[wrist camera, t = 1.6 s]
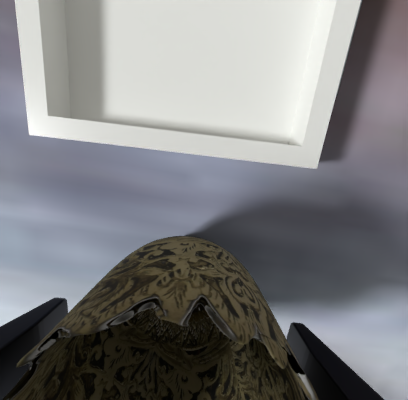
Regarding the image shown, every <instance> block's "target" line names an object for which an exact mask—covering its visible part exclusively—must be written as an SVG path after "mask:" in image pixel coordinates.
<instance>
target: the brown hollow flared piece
mask: <svg viewBox="0 0 408 400" xmlns="http://www.w3.org/2000/svg"><path fill="white" fill-rule="evenodd" d="M26 364H30V365H29V368H28V370H27V371H26V372H25V374H24V375H23V376H22V378H21V379H20V380H19V381H18V383H17V384H16V385H15V386H14V387H13V388H12V389H11V390H10V392H9V393H8V394H7V395H6V396H5V397H4V398H3V399H2V400H319V399H318V397H317V395H316V392H315V390H314V388H313V386H312V384H311V382H310V380H309V379H308V377H307V375H306V374H305V372H304V371H303V369H302V368H301V366H300V364H299V363H298V361H297V359H296V357H295V355H294V353H293V351H292V349H291V347H290V346H289V344H288V342H287V340H286V338H285V336H284V334H283V332H282V330H281V328H280V327H279V325H278V323H277V321H276V319H275V317H274V315H273V313H272V311H271V310H270V308H269V306H268V304H267V302H266V300H265V299H264V297H263V295H262V293H261V292H260V290H259V288H258V286H257V285H256V283H255V281H254V280H253V278H252V277H251V275H250V274H249V273H248V271H247V270H246V269H245V267H244V266H243V265H242V264H241V263H240V262H239V261H238V260H237V259H236V258H235V257H234V256H233V255H232V254H231V253H229V252H228V251H227V250H225V249H223V248H222V247H220V246H218V245H216V244H214V243H213V242H210V241H207V240H204V239H201V238H196V237H190V236H174V237H167V238H163V239H159V240H156V241H153V242H150V243H148V244H146V245H144V246H142V247H140V248H139V249H137V250H136V251H134V252H133V253H131V254H130V255H128V256H127V257H126V258H125V259H123V260H122V261H121V262H120V263H119V264H117V265H116V266H115V267H114V268H113V269H112V270H111V271H110V272H109V273H108V274H107V275H106V276H105V277H104V278H103V279H101V280H100V281H99V282H98V283H97V284H96V285H95V287H94V288H93V289H92V290H91V291H90V292H89V293H88V294H87V295H86V296H85V297H84V298H83V299H82V300H81V301H80V302H79V303H78V304H77V305H76V306H75V307H74V308H73V309H72V310H71V311H70V312H69V313H68V314H67V315H66V316H65V317H64V318H63V319H62V320H61V321H60V322H59V323H58V324H57V325H56V326H55V327H54V328H53V329H52V330H51V331H50V332H49V333H48V334H47V335H46V336H45V337H44V338H43V339H42V340H41V341H40V342H39V343H38V344H37V345H36V346H35V347H34V348H33V349H32V350H30V351H29V352H28V353H27V354H26V355H25V356H24V357H23V358H21V359H20V361H19V362H18V363H17V366H16V367H21V366H24V365H26Z"/></svg>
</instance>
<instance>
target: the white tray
mask: <svg viewBox="0 0 408 400" xmlns="http://www.w3.org/2000/svg"><path fill="white" fill-rule="evenodd" d="M361 4H362V0H15V6H16V16H17V25H18V34H19V44H20V53H21V62H22V72H23V81H24V90H25V100H26V109H27V118H28V128H29V135H36V136H44V137H53V138H61V139H69V140H78V141H86V142H95V143H103V144H111V145H120V146H128V147H137V148H145V149H153V150H162V151H170V152H179V153H187V154H195V155H204V156H212V157H221V158H229V159H237V160H246V161H254V162H263V163H271V164H279V165H288V166H296V167H305V168H313V169H317V166H318V162H319V159H320V155H321V151H322V147H323V143H324V140H325V136H326V132H327V128H328V124H329V121H330V117H331V113H332V109H333V105H334V102H335V98H336V96H337V95H338V91H339V87H340V83H341V80H342V76H343V72H344V68H345V65H346V61H347V57H348V53H349V49H350V46H351V42H352V38H353V34H354V31H355V27H356V23H357V19H358V15H359V12H360V8H361Z"/></svg>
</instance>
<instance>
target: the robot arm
mask: <svg viewBox="0 0 408 400" xmlns="http://www.w3.org/2000/svg"><path fill="white" fill-rule="evenodd" d="M67 314H68V307H67V300H66V299H65V298H53V299H51V300H49V301H48V302H46V303H44V304H42V305H40V306H38V307H36V308H34V309H33V310H31V311H29V312H27V313H25V314H23V315H21V316H20V317H18V318H16V319H14V320H12V321H10V322H8V323H6V324H5V325H3V326H1V327H0V400H2V399H3V398H4V397H5V396H6V395H7V394H8V393H9V392H10V390H11V389H12V388H13V387H14V386H15V385H16V384H17V383H18V381H19V380H20V379H21V378H22V376H23V375H24V374H25V372H26V371H27V370H28V368H29V365H30V364H26V365H24V366H21V367H16V366H17V363H18V362H19V361H20V359H21V358H23V357H24V356H25V355H26V354H27V353H28V352H29V351H30V350H32V349H33V348H34V347H35V346H36V345H37V344H38V343H39V342H40V341H41V340H42V339H43V338H44V337H45V336H46V335H47V334H48V333H49V332H50V331H51V330H52V329H53V328H54V327H55V326H56V325H57V324H58V323H59V322H60V321H61V320H62V319H63V318H64V317H65V316H66V315H67ZM287 342H288V344H289V346H290V347H291V349H292V351H293V353H294V355H295V357H296V359H297V361H298V363H299V364H300V366H301V368H302V369H303V371H304V372H305V374H306V375H307V377H308V379H309V380H310V382H311V384H312V386H313V388H314V390H315V392H316V395H317V397H318V399H319V400H384V399H383V398H382V397H381V396H380V395H379V394H378V393H377V392H375V391H374V390H373V389H372V388H371V387H370V386H369V385H368V384H367V383H366V382H365V381H364V380H363V379H361V378H360V377H359V376H358V375H357V374H356V373H355V372H354V371H353V370H352V369H351V368H350V367H349V366H348V365H346V364H345V363H344V362H343V361H342V360H341V359H340V358H339V357H338V356H337V355H336V354H335V353H334V352H333V351H331V350H330V349H329V348H328V347H327V346H326V345H325V344H324V343H323V342H322V341H321V340H320V339H319V338H318V337H316V336H315V335H314V334H313V333H312V332H311V331H310V330H309V329H308V328H307V327H306V326H305V325H303V324H302V323H294V322H293V323H291V325H290V329H289V332H288V336H287Z"/></svg>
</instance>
